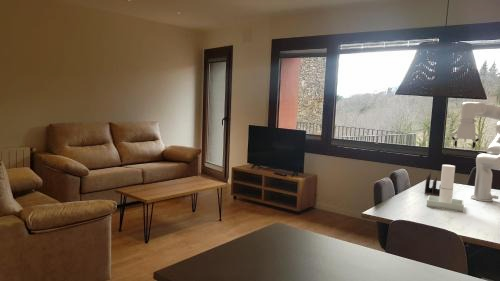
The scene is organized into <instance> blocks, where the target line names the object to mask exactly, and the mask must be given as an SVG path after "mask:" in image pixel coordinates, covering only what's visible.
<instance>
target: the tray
mask: <svg viewBox="0 0 500 281" xmlns="http://www.w3.org/2000/svg"><path fill="white" fill-rule="evenodd" d="M464 206H465V205H464V200H463V199H457V198H452V203H445V202H439V196H433V195H428V196H427V200H426V207H429V208H434V209H435V208H436V209H440V210H448V211H454V212H460V213H461V212H462V213H463V212H464Z"/></svg>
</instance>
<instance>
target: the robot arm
mask: <svg viewBox="0 0 500 281" xmlns="http://www.w3.org/2000/svg"><path fill="white" fill-rule="evenodd" d="M475 116H478V117H483V118H487V119H488V118H489V119H494V120H498V121H497V123H496V124H495V138H494V139H493V141H492V142H491V143H490V144H489V145H488V147H487V149H486V153H485V152H484V153H479V154H477V156H476V158H475V165H476V166H475V167H476V172H475V180H474V191H473V194H472V195H471V196H470V198H471V200H472V199H473V200H475V201H479V202H486V203H488V202H493V200H494V199H495V200H499V196H497V195H493V194H492V193H491V192H492V191H491V190H492V183H493V171H492V170H496V171H500V106H498V105H493V104H486V103H485V102H480V101H477V102H476V101H474V102H473V101H466V102H462V104H461V110H460V121H459V123H458V125H457V129H456V131H455V132H452V133H450V137H451V139H452V140H453V141H454V144H453V145H454V146H455V148H457V146H458V140H459V139H462V140H471V141H472V145H471V146H472V147H471V148H472V149H473V150H474V148H476V143H477V142H478V141H479V140H480V139H481V138H482V135H480V134H478V133H476V124H475V123H477V119H475ZM454 135H456V137H455V136H454ZM475 137H477V138H476V139H475Z"/></svg>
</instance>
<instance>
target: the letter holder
mask: <svg viewBox="0 0 500 281" xmlns="http://www.w3.org/2000/svg"><path fill="white" fill-rule="evenodd" d="M431 177H432V172H430V171H429V173H428V174H427V175H426V178H425V179H426V180H425V185H424V187H425V188H424V195H426V194H427V195H429V196H436V197H439V196H440V185H441V183H440V184H439V188H437V182H438V181H437V180H438V177H437V176H435V178H433V181H432V186H431V187H430V184H431ZM427 195H426V196H427Z"/></svg>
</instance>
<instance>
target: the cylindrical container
mask: <svg viewBox="0 0 500 281" xmlns="http://www.w3.org/2000/svg"><path fill="white" fill-rule="evenodd" d="M455 172H456V165H453V164H452V165H451V164H442V165H441V175H440V176H441V177H440V184H441V185H440V184H439V187H440V196H438V197H439V202H445V203H452V199H453V194H454V193H453V191H454V182H455Z"/></svg>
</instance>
